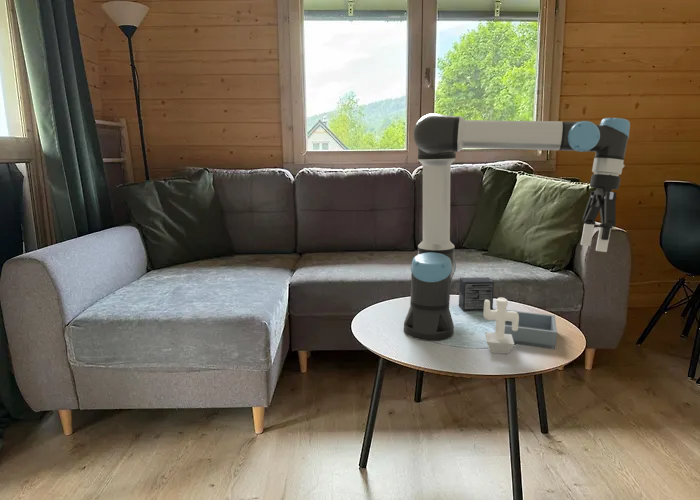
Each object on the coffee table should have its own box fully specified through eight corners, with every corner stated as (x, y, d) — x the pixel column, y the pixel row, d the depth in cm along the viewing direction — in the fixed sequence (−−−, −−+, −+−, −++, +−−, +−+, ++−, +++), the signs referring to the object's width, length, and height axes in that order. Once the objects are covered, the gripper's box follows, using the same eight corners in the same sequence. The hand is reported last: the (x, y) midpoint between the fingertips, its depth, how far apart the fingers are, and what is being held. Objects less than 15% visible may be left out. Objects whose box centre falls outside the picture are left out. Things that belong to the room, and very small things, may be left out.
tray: (496, 341, 146) (497, 325, 145) (499, 324, 160) (500, 309, 159) (555, 349, 141) (557, 332, 140) (553, 330, 155) (554, 315, 154)
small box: (486, 305, 179) (488, 276, 177) (493, 311, 173) (495, 281, 170) (457, 305, 178) (459, 276, 176) (462, 311, 172) (464, 281, 170)
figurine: (517, 357, 136) (522, 304, 132) (481, 354, 137) (485, 301, 134) (514, 346, 142) (518, 296, 139) (480, 343, 144) (483, 293, 141)
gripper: (638, 175, 130) (623, 255, 133) (604, 176, 154) (592, 244, 157) (608, 172, 131) (593, 252, 134) (579, 174, 155) (567, 241, 158)
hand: (592, 248), depth 145 cm, fingers open, 13 cm apart
